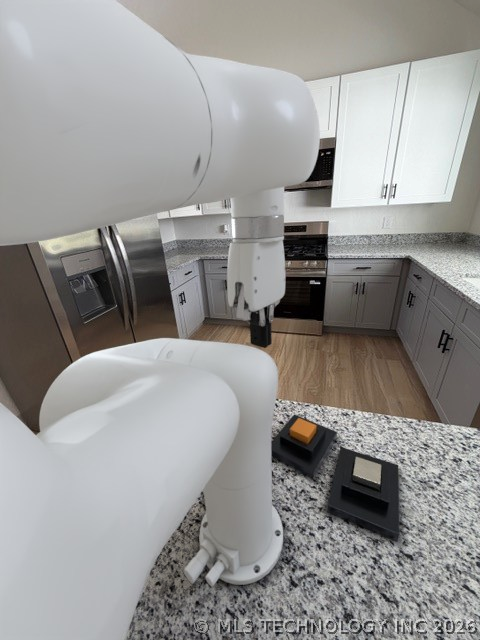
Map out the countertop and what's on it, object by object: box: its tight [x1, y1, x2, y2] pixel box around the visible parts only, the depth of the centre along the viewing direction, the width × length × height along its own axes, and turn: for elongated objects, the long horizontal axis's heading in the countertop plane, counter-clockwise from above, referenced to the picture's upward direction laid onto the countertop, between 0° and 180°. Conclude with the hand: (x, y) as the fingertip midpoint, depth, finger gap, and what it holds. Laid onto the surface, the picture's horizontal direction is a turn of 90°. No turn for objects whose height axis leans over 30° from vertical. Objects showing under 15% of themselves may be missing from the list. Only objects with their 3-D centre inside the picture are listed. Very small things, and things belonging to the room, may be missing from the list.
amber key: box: [290, 418, 317, 444], centre depth 56 cm, size 4×4×2 cm
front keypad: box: [326, 446, 400, 543], centre depth 47 cm, size 13×10×4 cm
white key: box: [352, 457, 381, 492], centre depth 46 cm, size 4×4×2 cm
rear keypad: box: [271, 413, 338, 480], centre depth 56 cm, size 12×10×4 cm
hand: (261, 344), depth 46 cm, fingers closed
